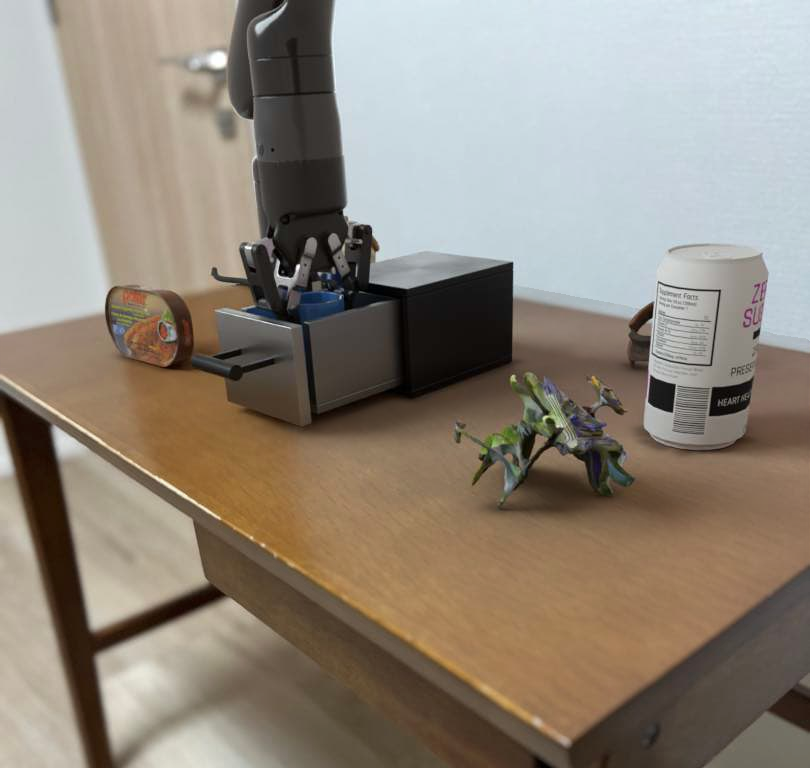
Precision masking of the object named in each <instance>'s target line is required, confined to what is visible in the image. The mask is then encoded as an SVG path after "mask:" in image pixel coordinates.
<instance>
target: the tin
mask: <svg viewBox="0 0 810 768" xmlns="http://www.w3.org/2000/svg"><path fill="white" fill-rule="evenodd" d="M188 307H189V306H188V305H187V303H186V302H185V301H184V299H183V298H182V297H181V296H180V295H179V294H178V293H176V292H174V291H172V290H168V289H162V288H156V287H150V286H145V285H138V284H126V285H113V286H112V287H111V288H110V289H109V290H108V292H107V294H106V297H105V303H104V317H105V322H106V327H107V330H108V333H109V336H110V337H111V340H112V341H111V342H112V343H113V345H114V346H115V348H116V349H117V350H118V351H119V353H120V354H121V355H122V356H124V357H125V358H127V359H132V360H134V361H139V362H141V363H145V364H150V365H154V366H156V367H159V368H160V367H161V368H167V367H170V366H173V365H178V364H182V363H185V362H187V361H188V359H190V357H192V356H191V355H192V354H193V351H194V348H195V334H194V325H193V320H192V315H191V312H190V309H189V308H188Z"/></svg>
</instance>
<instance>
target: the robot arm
mask: <svg viewBox="0 0 810 768" xmlns="http://www.w3.org/2000/svg"><path fill="white" fill-rule="evenodd" d="M337 4H338V0H238V1H237V6H236V10H235V14H234V20H233V23H232V24H233V25H232V30H231V37H230V41H229V46H228V52H227V59H226V60H227V61H226V88H227V94H228V98H229V101H230V105H231V107H232V109H233V111H234V112H235V113H236V115H237V116H238V117H240V118H242V119H243V120H245V121H251V122H253V134H254V141H255V152H256V155H254V157H252V160H251V172H252V180H253V188H254V198H255V199H254V200H255V206H256V215H257V222H258V224H257V225H258V232H259V240H256V241H254V242H247V241H243V242H242V243H240V244H239V248H238V251H239V255H240V259H241V262H242V266H243V269H244V271H245V273H244V274H245V276H246V278H245V277H244V278H243V277H233V276H224V275H219V272H218V268H217V267H215V266H213V267H212V268H211V272H210V273H211V274H210V276H211V277H213V279H214V280H216V281H218V282H222V283H226V284H227V283H228V284H237V285H246V286H248V287H249V290H250V293H251V297H252V300H253V303H254V304H253V305H255V306H256V308H258V309H263V310H267V311H272V312H273V313H274V314H275V317H276V320H280V321H285V322H289V323H294V324H298V325H301V323H300V315H299V314H296V313H297V311H298V307H299V302H300V298H301V293H306V292H312V291H316V290H320V289H321V280H320V277H321V278H322V279H323V280H324V282H325V284H326V286H327V288H328V291H329V292H337V293H341V294H343V295H344V302H345V311H347V310H351V309H353V299H354V298H355V296H356V294H357V293H358V292H359V291H361V290H367V288H368V286H369V276H370V261H371V246H372V235H373V227H372V226H371V225H370V224H365V223H361V224H359V223H360V222H357V223H349V224H348V223H347V221H346V219H345V217H344V216H345V214H344V209H346V207H347V206H348V188H347V187H348V185H347V175H346V174H347V173H346V160H345V146H344V135H343V134H344V133H343V122H342V115H341V111H340V107H339V101H338V93H337V79H336V78H337V77H336V65H335V55H334V53H335V51H334V29H335V20H336V12H337ZM344 243H345V255H344V254H343V252H342V247H343V245H344ZM356 264H357V265H358V268H357V276H356Z"/></svg>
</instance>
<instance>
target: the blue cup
mask: <svg viewBox="0 0 810 768" xmlns="http://www.w3.org/2000/svg"><path fill="white" fill-rule="evenodd" d="M343 311H345V302H344V295H343V294H341V293H337V292H327V291H319V292H306V293H301V298H300V302H299V307H298V311H297V313H296V314H299V315H300V323H301V325H302V332H303V342H304V352H305V361H306V371H307V374H309V373H308V363H307V353H306V342H305V332H304V322H305V321H309V320H313V319H317V318H320V317H324V316H328V315H332V314H336V313H339V312H343Z"/></svg>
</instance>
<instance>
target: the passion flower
mask: <svg viewBox="0 0 810 768" xmlns="http://www.w3.org/2000/svg"><path fill="white" fill-rule="evenodd" d="M516 377H517V376H516V374H512V375H511V376H510V380H509V381H510V388H511V390H512V392H513V393H514V394H515V395H517V397H519V398H520V399H521V400H522V403H523V405H524V411H523V417H522V419H520V421H518V425H514V424H513V423H512V424H506V425H505V426H504V427H503V429H502V430H501V432H493V433H490V434H488V435H487V436H486V437H485V439H484V441H483V442H482V440H480V439H479V438H477V437H475V436H473V435H471V434H470V433H468V431H465V430H464V429H465V427H466V426H467V423H466V422H465V421H462V420H460V419H458V420H457V421H455V422H454V425H455V427H454V433H453V440H454V442H455V443H456V444H460V443H461V441H462V440H461V437H462V435H463V436H465V437H466V438H468V439H470V440H471V441H472V442H474V443H476V444H477V445H479V446H481V450H480V453H479V454H478V457H477V459H478V460H479V461H481V464H480V466H479V467H478V468H477V469H476V471H475V472H474V474H473V475H472V477H471V484H470V486H472V487H474V486H475V485H476V484H477V483H478V481H480V478H481V477H482V476H483V474H485V472H487V470H488V469H489V468H491V467H492V466H494V465H495V464H496V463H497V461H499V462H501V463H502V464H503V465H504V475H503V484H504V485H503V490H502V494H501V497H500V500H499V502H498V503H497V505H496V508H497V509H498V510H499V509H500V508H501V506H502V505H504V503H505V502H506V500H507V499H508V497H509V496H510V494H512V492H513V491H516V490H517V489H519V488H520V486H522V485H523V484H524V483H525V481H526V480H527V479H528V477H529V470H530V469H531V468H533V466H534V464H535V462H536V461H537V460H538V459H539V458H540V457H541V455H542V454H543V453H544V452H545V451H548V450H549V449H551V448H555V449H557V450H558V453H559V454H560V455H561V456H566V455H573V457H575V458H576V459H577V460H579V461H581V462H584V466H585V469H586V473H587V481H588V484H589V486H590V487H591V489H592V491H593V492H594V493H595V494H598V495H602V496H604V497H608V498H609V499H612V498H614V495H615V493H614V492H613V489H612V487H611V486H610V485H609V483H610V479H611V480H612V482H614V483H615V484H617V485H619V486H621V487H624V488H629V487H630V486H632V484H633V483H634V482H635V480H636V477H635V476H633V475H632V474H630V473H629V472H628V471H627V470H626V469H625V468H624V467H623V466H624V464H625V463H626V461H627V459H628V455H627V452H626V451H625V450H624V445H623V444H620V443H619V441H618V440H616V439H614V438H612V437H611V436H610V434H608V433H607V432H606V431H605V430H604V428H605V427H607V425H608V423H607V422H605V421H604V422H602V421H600V420H599V419H598V418H596V415H595V414H596V412H597V411H598V409H600V408H601V407H609V408H611V409H612V410H613V412H614V413H615V414H617V415H619V416H623V415H625V413H628V409H626V408H624V407H623V404H622V402H621V401H620V399H619V398H618V397H617V395H616V394H615V392H614V388H612V387H610V386H608V385H607V384H605V383H604V382H603V381H602V380H601V379H599V378H597V376H596V377H595V376H594V375H592V374H587V375H586V381H587V383H588V384H589V385H590V387H591V388H592V389H593V390H594V391H595V393H596V395H597V398H596V399H595V402H593V404H592V405H588V406H586V405H578V404H577V403H576V402H575V401H573V399H572V398H571V397H569V396H568V395H567V394H566V393H564V391H563V390H562V389H561V390H560V389H559V388H558V387H557V386H556V384H555V383H554V381H553V380H549V378H547V376H543V381H544V383H543V382H540V380H539V379H538V377H537V376H536V375H535V374H534V373H533V372H527V371H526V372H525V374H524V375H523V383H524V385H523V384H522V383H520V382H518V381H517V380H516ZM537 435H539V436H543V437H544V438H547V440H545V441H544V442H543V443H542V445H541V446H540V447H539V448H538V449H537V451H535V453H534V454H533V449H534V446H535V444H536V436H537ZM508 454H510V455H511V456H512V462H510V461H509V460H507V458H506V457H505V456H506V455H508ZM532 454H533V455H532Z"/></svg>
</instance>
